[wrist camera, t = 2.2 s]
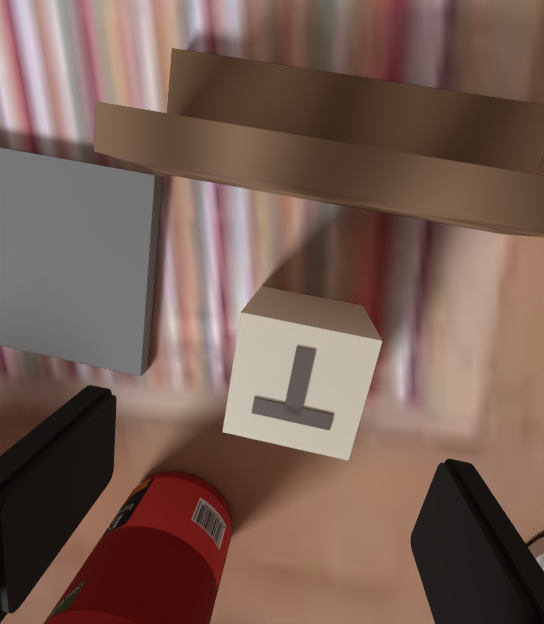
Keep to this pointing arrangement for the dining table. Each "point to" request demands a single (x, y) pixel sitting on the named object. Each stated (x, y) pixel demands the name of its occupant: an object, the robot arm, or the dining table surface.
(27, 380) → the dining table surface
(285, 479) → the dining table surface
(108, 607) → the canned food
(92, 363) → the slate mat
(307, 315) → the marked cube
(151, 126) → the walnut screen
